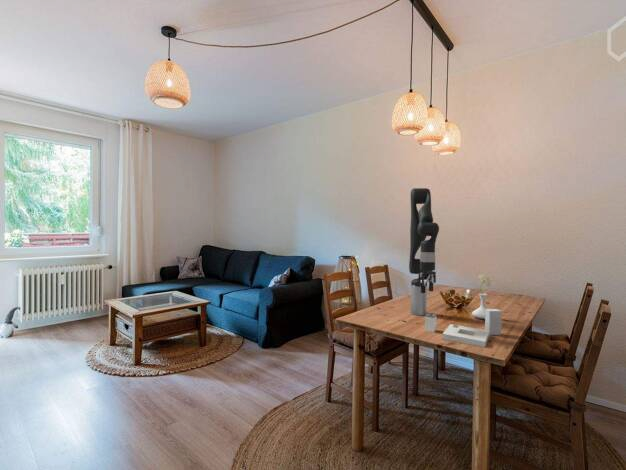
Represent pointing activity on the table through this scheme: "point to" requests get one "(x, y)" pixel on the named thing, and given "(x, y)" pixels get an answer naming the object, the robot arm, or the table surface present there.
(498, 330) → the skincare box
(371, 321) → the table surface
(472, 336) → the socket plate
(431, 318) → the plug
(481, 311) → the flower in vase
